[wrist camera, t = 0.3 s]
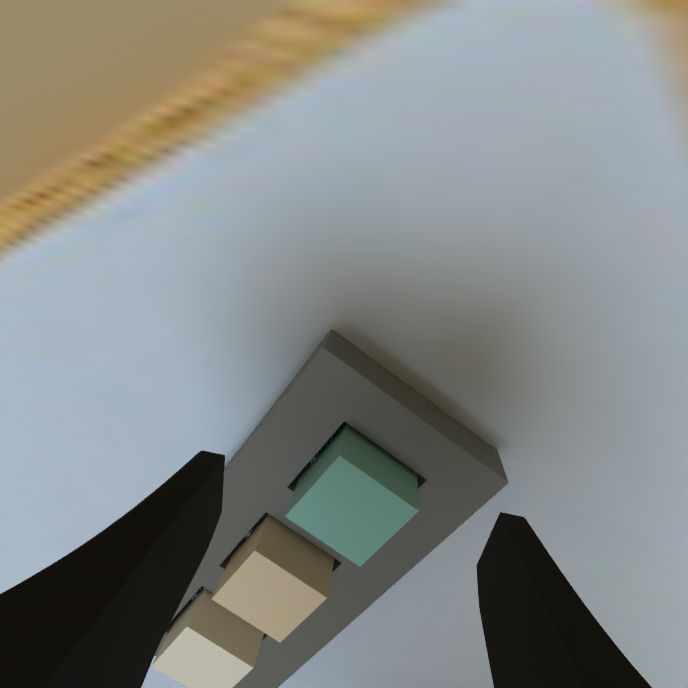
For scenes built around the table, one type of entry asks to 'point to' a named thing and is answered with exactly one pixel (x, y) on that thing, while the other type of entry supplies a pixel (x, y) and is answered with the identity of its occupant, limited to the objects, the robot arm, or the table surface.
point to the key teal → (354, 496)
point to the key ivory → (208, 646)
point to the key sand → (275, 579)
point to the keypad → (291, 462)
